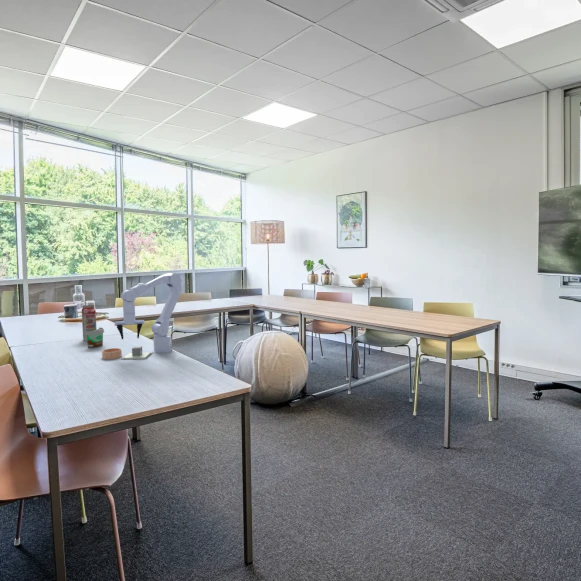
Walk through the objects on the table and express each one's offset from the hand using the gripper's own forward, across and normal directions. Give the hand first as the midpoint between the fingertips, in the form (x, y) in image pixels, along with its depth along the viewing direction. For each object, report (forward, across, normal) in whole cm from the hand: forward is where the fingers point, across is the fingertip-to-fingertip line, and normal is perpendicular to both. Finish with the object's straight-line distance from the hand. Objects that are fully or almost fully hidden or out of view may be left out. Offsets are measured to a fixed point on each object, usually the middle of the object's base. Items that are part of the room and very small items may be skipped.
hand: (130, 338), depth 218 cm
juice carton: (+10, +28, -51) cm, 59 cm away
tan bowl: (+9, +9, +1) cm, 13 cm away
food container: (+10, +20, -31) cm, 38 cm away
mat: (+10, -3, +4) cm, 11 cm away
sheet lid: (+9, -3, +4) cm, 10 cm away
